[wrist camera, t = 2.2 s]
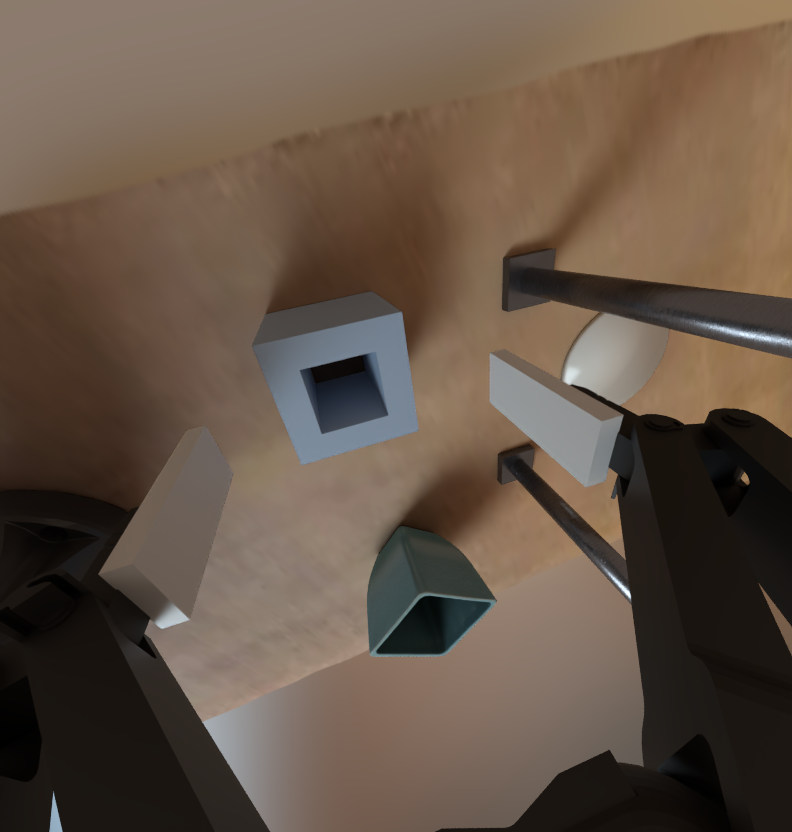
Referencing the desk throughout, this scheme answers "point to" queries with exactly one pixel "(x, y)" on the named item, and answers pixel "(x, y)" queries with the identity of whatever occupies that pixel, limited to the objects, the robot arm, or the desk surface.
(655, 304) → the gold-tipped post pair
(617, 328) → the white round disc
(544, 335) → the desk surface
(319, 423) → the hollow square tube
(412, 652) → the flower pot
